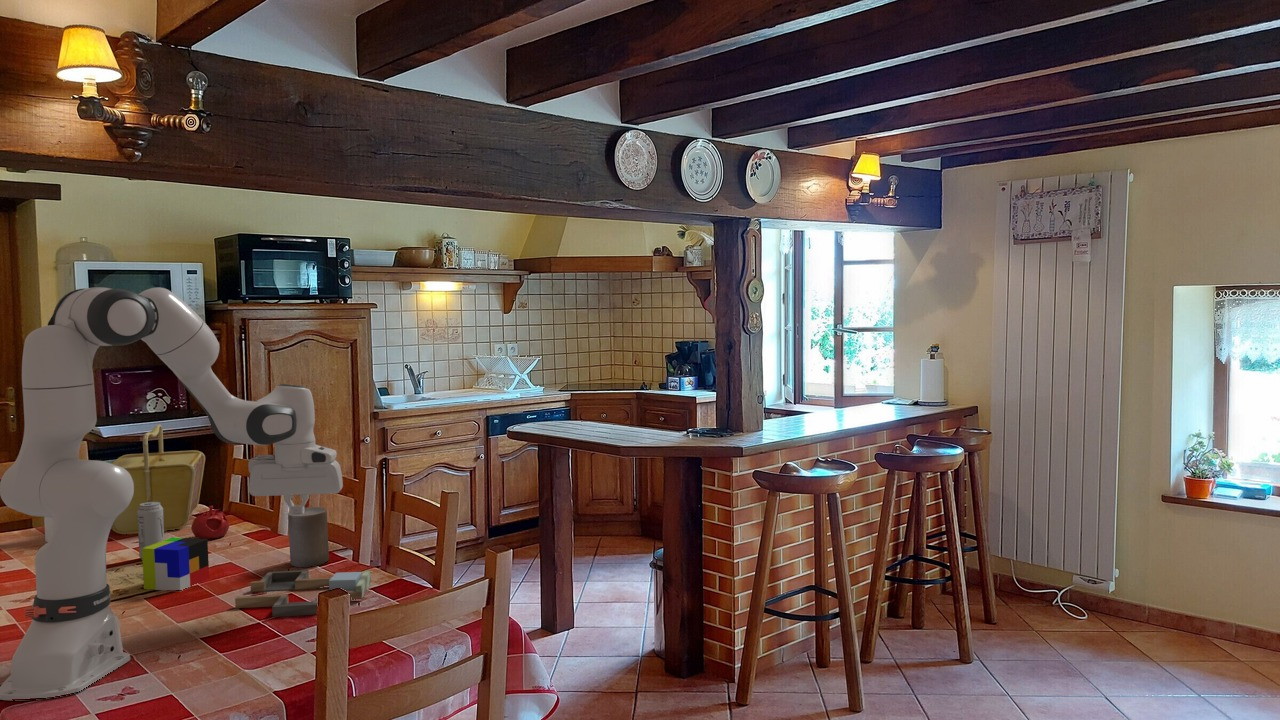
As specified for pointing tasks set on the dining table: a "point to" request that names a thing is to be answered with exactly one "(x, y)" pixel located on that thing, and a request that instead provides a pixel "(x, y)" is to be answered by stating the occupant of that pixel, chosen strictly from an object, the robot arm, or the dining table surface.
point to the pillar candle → (308, 537)
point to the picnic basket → (161, 484)
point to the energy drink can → (150, 524)
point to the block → (345, 580)
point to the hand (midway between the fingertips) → (297, 513)
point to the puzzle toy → (175, 563)
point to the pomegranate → (210, 525)
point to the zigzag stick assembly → (293, 582)
